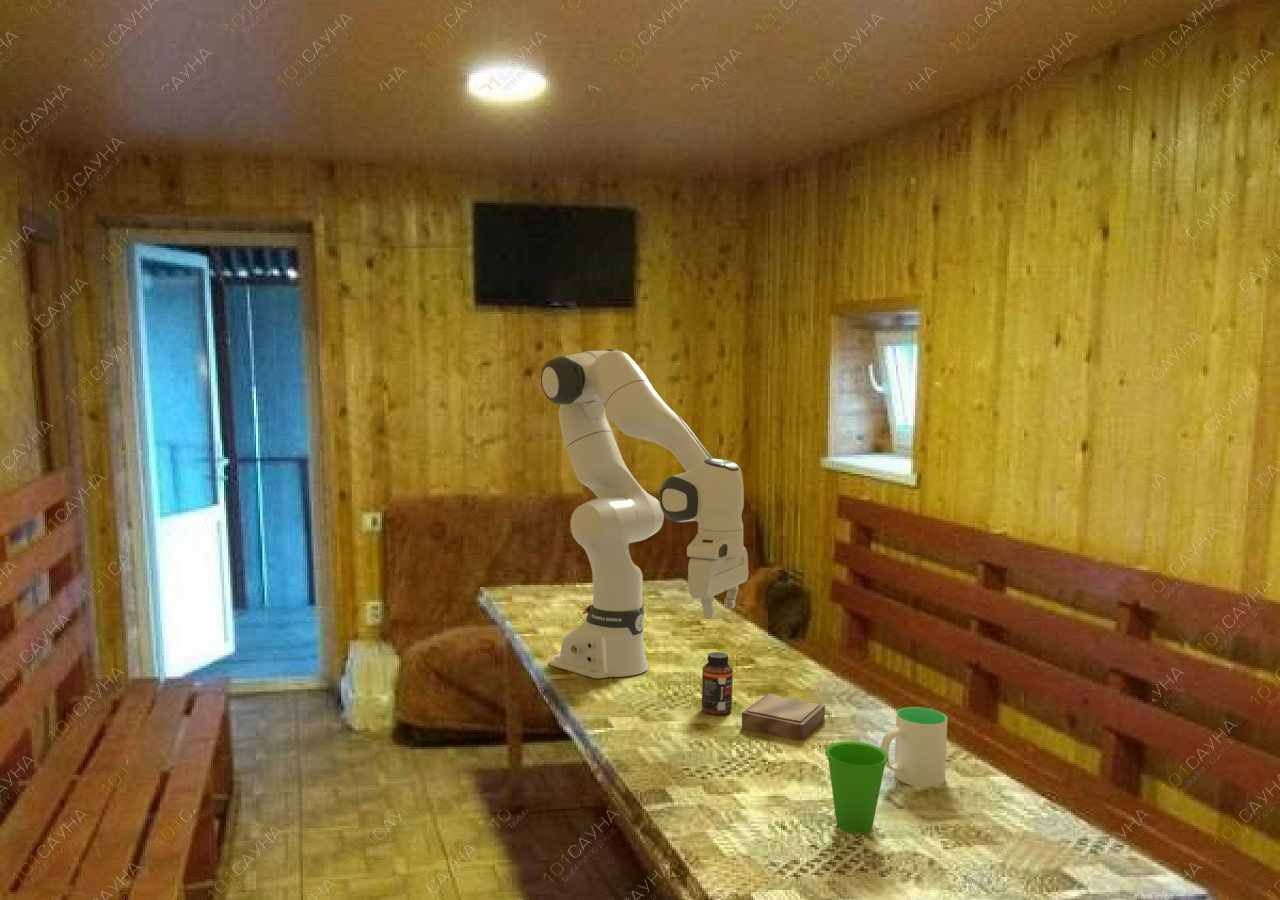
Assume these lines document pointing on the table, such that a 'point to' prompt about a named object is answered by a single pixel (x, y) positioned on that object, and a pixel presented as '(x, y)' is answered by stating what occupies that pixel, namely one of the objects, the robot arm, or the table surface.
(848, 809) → the cup
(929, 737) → the mug
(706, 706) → the supplement bottle
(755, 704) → the brown box
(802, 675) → the table surface
